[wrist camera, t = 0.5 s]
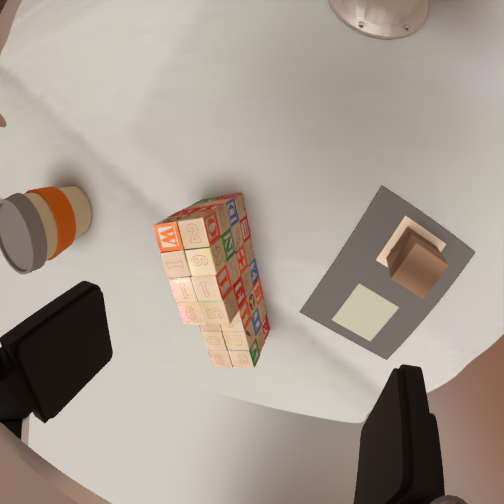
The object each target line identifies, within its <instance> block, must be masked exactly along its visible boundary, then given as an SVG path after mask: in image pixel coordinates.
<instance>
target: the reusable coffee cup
mask: <svg viewBox="0 0 504 504" xmlns="http://www.w3.org/2000/svg"><path fill="white" fill-rule="evenodd" d="M91 220H92V210H91V206H90V203H89V200H88V198H87V196H86V195H85V193H84V192H83V191H82V190H81V189H80V188H78V187H76V186H68V187H61V188H55V187H46V188H40V189H34V190H29V191H27V192H26V193H25V194H21V193H16V194H13V195H11V196H9V197H7V198H6V199H4V200H2V201H0V249H1V251H2V253H3V256H4V257H5V259H6V261H7V262H8V263H9V265H10V266H11V267H12V268H13V269H14V270H15V271H16V272H18V273H20V274H27V273H29V272H32V271H34V270H37V269H39V268H41V267H42V266H43V265H44V263H45V262H46V261H47V260H52V259H53V258H55V257H56V256H57V255H59V254H60V253H61V252H62V251H64V250H65V249H66V248H68V247H69V246H70V245H71V244H72V243H73V241H74V239H76V238H77V237H79V236H80V235H81V234H83V233H84V232H85V231H87V230H88V228H89V227H90V224H91Z"/></svg>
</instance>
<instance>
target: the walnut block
mask: <svg viewBox="0 0 504 504" xmlns="http://www.w3.org/2000/svg"><path fill="white" fill-rule="evenodd" d="M386 260H387V264H388V268H389V272H390V277H391V279H392V280H394V281H395V282H397V283H399V284H400V285H402V286H403V287H405V288H407V289H408V290H410V291H411V292H413V293H414V294H416V295H418V296H419V297H421V298H422V299H424V298H425V296H426V295H427V294H428V293H429V291H430V290H431V289H432V287H433V286H434V285H435V283H436V282H437V281H438V280H439V278H440V277H441V276H442V274H443V273H444V271H445V270H446V269H447V267H448V266H449V265H448V264H447V262H446V260H445V259H444V257H443V256H442V254H441V252H440V251H439V249H438V248H437V246H435V245H434V244H432V243H431V242H430V241H428V240H427V239H425V238H424V237H422V236H421V235H419V234H418V233H417V232H415V231H414V230H412V229H411V228H409V227H408V226H407V228H406V229H405V231H404V232H403V234H402V235H401V237H400V238H399V240H398V241H397V243H396V244H395V246H394V247H393V249H392V250H391V252H390V253H389V254H388V256H387V257H386Z"/></svg>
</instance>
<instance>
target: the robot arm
mask: <svg viewBox="0 0 504 504" xmlns="http://www.w3.org/2000/svg"><path fill="white" fill-rule="evenodd" d="M329 3H330V5H331V7H332V9H333V10H334V12H335V13H336V15H337V16H338V17H339V18H340V19H341V20H342V21H343V22H344V23H345V24H347V25H348V26H349V27H351V28H352V29H354V30H356V31H358V32H360V33H362V34H365V35H368V36H370V37H375V38H380V39H397V38H402V37H405V36H408V35H410V34H412V33H414V32H415V31H416V30H418V29H419V28H420V27H421V25H422V24H423V23H424V21H425V19H426V17H427V15H428V10H429V0H329ZM359 26H363V28H360V27H359ZM404 28H407V29H408V31H407V30H405V29H404ZM0 343H1V345H2V347H1V348H0V504H112V503H110V502H108V501H107V500H105V499H103V498H101V497H100V496H98V495H96V494H95V493H93V492H91V491H90V490H88V489H87V488H85V487H83V486H82V485H80V484H79V483H77V482H76V481H74V480H73V479H71V478H70V477H68V476H66V475H65V474H64V473H62V472H61V471H60V470H58V469H57V468H55V467H54V466H53V465H51V464H50V463H49V462H47V461H46V460H45V459H43V458H42V457H41V456H39V455H38V454H37V453H36V452H34V451H33V450H32V449H31V448H29V447H28V432H29V414H30V413H31V412H33V413H34V415H35V416H36V417H37V418H38V419H40V420H41V421H42V422H44V423H46V422H47V421H48V420H49V419H50V418H54V417H55V416H56V415H57V414H58V413H59V412H60V411H61V410H62V409H63V408H64V407H65V406H66V405H67V404H68V403H69V402H70V400H72V399H73V398H74V397H75V396H76V394H77V393H78V392H79V391H80V390H81V389H82V388H83V387H84V386H85V385H86V384H87V383H88V382H89V381H90V380H91V379H92V378H93V377H94V376H95V375H96V374H97V373H98V372H99V371H100V370H101V369H102V368H103V367H104V366H105V365H106V364H107V363H108V362H109V361H110V359H111V358H112V354H113V351H112V346H111V341H110V335H109V330H108V323H107V317H106V311H105V304H104V297H103V293H102V291H101V290H100V287H99V286H98V285H95V284H93V283H90V282H87V281H82V282H80V283H79V284H77V285H76V286H74V287H73V288H71V289H70V290H68V291H66V292H65V293H64V294H62V295H60V296H59V297H57V298H56V299H54V300H53V301H52V302H50V303H49V304H47V305H46V306H44V307H43V308H41V309H40V310H38V311H37V312H35V313H34V314H33V315H31V316H30V317H28V318H27V319H25V320H24V321H23V322H21V323H20V324H18V325H17V326H16V327H14V328H13V329H11V330H10V331H9V332H7V333H6V334H4V335H3V336H2V337H0ZM444 492H445V491H444V477H443V467H442V458H441V450H440V441H439V434H438V427H437V421H436V417H435V415H434V414H431V413H429V406H428V400H427V395H426V389H425V383H424V378H423V373H422V369H421V368H420V367H417V366H410V365H404V364H403V365H401V366H400V368H399V369H397V368H394V369H393V371H392V373H391V375H390V377H389V379H388V381H387V383H386V385H385V387H384V389H383V391H382V393H381V395H380V397H379V398H378V400H377V402H376V404H375V406H374V408H373V410H372V411H371V413H370V415H369V417H368V419H367V420H366V422H365V424H364V426H363V428H362V431H361V438H360V451H359V462H358V472H357V482H356V490H355V498H354V504H467V503H466V502H465V501H464V500H463V499H461V498H459V497H457V496H452V495H447V496H445V493H444Z"/></svg>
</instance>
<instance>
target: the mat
mask: <svg viewBox="0 0 504 504" xmlns="http://www.w3.org/2000/svg"><path fill="white" fill-rule="evenodd" d="M407 226H408V227H409V228H411V229H412V230H414V231H415V232H417V233H418V234H419V235H421V236H422V237H424V238H425V239H427V240H428V241H430V242H431V243H432V244H434V245H435V246H437V248H438V249H439V251H440V252H441V254H442V256H443V257H444V259H445V260H446V262H447V264H448V265H449V266H448V267H447V269H446V270H445V271H444V273H443V274H442V276H441V277H440V278H439V280H438V281H437V282H436V283H435V285H434V286H433V287H432V289H431V290H430V291H429V293H428V294H427V295H426V296H425V298H424V299H422V298H421V297H419V296H418V295H416V294H414V293H413V292H411V291H410V290H408V289H407V288H405V287H403V286H402V285H400V284H399V283H397V282H395V281H394V280H392V279H391V277H390V272H389V268H388V264H387V260H386V257H387V256H388V254H389V253H390V252H391V250H392V249H393V247H394V246H395V244H396V243H397V241H398V240H399V238H400V237H401V235H402V234H403V232H404V231H405V229H406V228H407ZM474 254H475V252H474V251H473V250H472V249H471V248H469V247H468V246H467V245H466V244H464V243H463V242H462V241H460V240H459V239H458V238H456V237H455V236H454V235H452V234H451V233H450V232H448V231H447V230H446V229H444V228H443V227H442V226H440V225H439V224H438V223H436V222H435V221H433V220H432V219H431V218H429V217H428V216H426V215H425V214H424V213H422V212H421V211H419V210H418V209H416V208H415V207H413V206H412V205H410V204H409V203H407V202H406V201H404V200H403V199H401V198H400V197H398V196H397V195H395V194H394V193H392V192H391V191H389V190H388V189H386V188H385V187H383V186H381V188H380V189H379V191H378V193H377V194H376V196H375V198H374V199H373V201H372V203H371V204H370V206H369V207H368V209H367V211H366V212H365V214H364V216H363V217H362V219H361V220H360V222H359V224H358V225H357V227H356V228H355V230H354V232H353V233H352V235H351V236H350V238H349V239H348V241H347V242H346V244H345V246H344V247H343V249H342V250H341V252H340V253H339V255H338V256H337V258H336V259H335V261H334V262H333V264H332V265H331V267H330V268H329V270H328V271H327V273H326V274H325V276H324V277H323V279H322V280H321V282H320V283H319V285H318V286H317V288H316V289H315V291H314V292H313V293H312V295H311V296H310V298H309V299H308V301H307V302H306V304H305V305H304V306H303V308H302V309H301V311H300V313H302V314H304V315H306V316H307V317H309V318H311V319H313V320H315V321H316V322H318V323H320V324H322V325H324V326H325V327H327V328H329V329H331V330H333V331H334V332H336V333H338V334H340V335H342V336H343V337H345V338H347V339H349V340H351V341H353V342H354V343H356V344H358V345H360V346H362V347H364V348H365V349H367V350H369V351H371V352H373V353H375V354H377V355H378V356H380V357H382V358H384V359H386V360H387V359H388V358H389V357H390V356H391V355H392V354H393V353H394V352H395V351H396V350H397V349H398V348H399V347H400V345H401V344H402V343H403V342H404V341H405V340H406V339H407V338H408V337H409V336H410V335H411V333H412V332H413V331H414V330H415V329H416V328H417V327H418V326H419V324H420V323H421V322H422V321H423V320H424V319H425V317H426V316H427V315H428V314H429V313H430V311H431V310H432V309H433V308H434V307H435V305H436V304H437V303H438V302H439V300H440V299H441V298H442V297H443V295H444V294H445V293H446V292H447V290H448V289H449V288H450V286H451V285H452V284H453V283H454V281H455V280H456V279H457V277H458V276H459V275H460V273H461V272H462V270H463V269H464V268H465V266H466V265H467V264H468V262H469V261H470V259H471V258H472V256H473V255H474Z"/></svg>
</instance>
